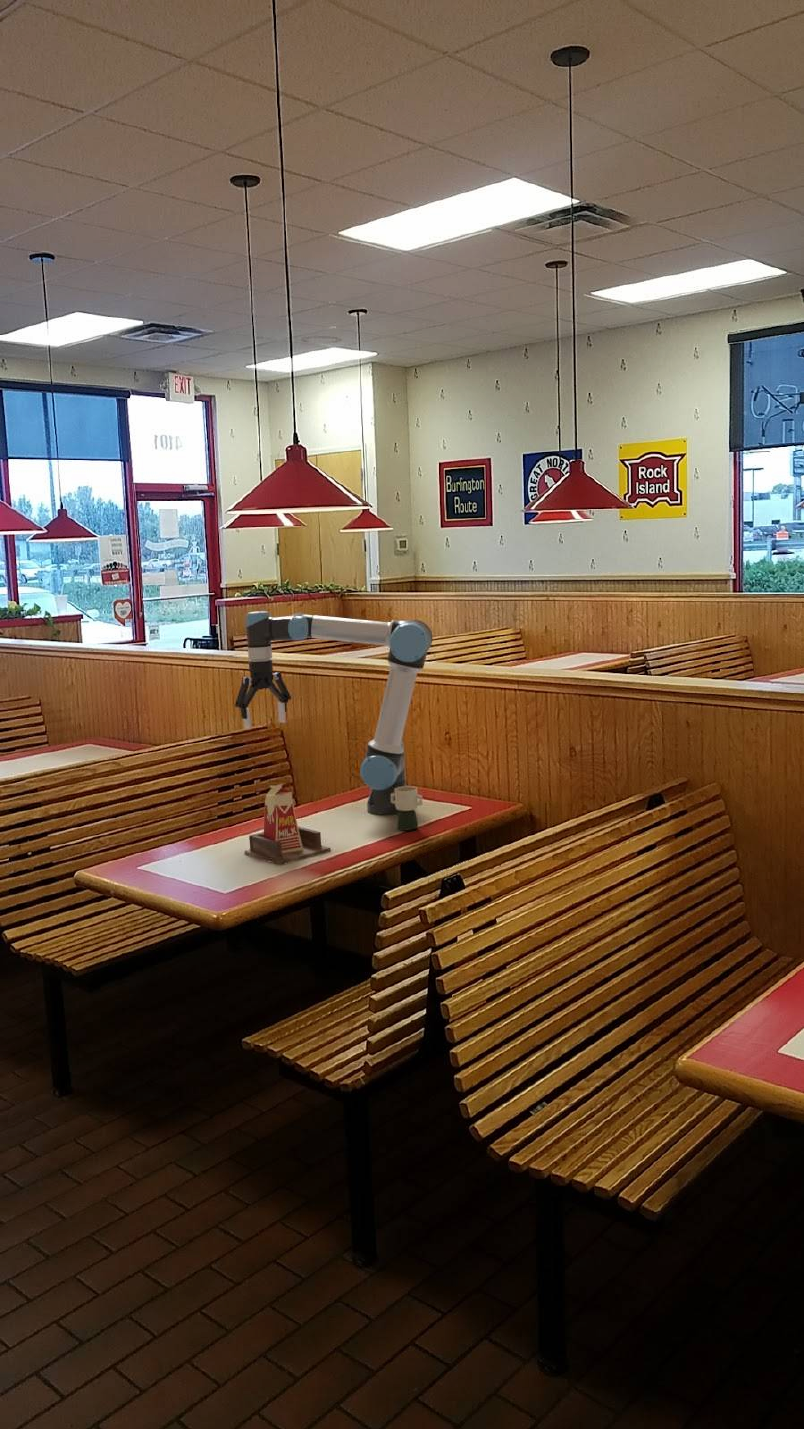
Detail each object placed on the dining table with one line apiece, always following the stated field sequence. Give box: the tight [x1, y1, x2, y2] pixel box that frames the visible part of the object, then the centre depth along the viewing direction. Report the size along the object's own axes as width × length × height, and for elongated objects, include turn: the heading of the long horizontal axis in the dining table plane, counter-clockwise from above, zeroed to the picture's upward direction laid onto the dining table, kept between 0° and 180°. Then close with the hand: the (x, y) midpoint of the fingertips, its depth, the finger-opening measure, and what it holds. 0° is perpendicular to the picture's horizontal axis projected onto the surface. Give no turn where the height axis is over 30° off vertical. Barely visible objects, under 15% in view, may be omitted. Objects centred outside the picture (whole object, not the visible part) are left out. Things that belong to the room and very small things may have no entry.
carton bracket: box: [243, 825, 332, 866], centre depth 322 cm, size 18×18×6 cm
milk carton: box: [263, 783, 303, 854], centre depth 321 cm, size 9×9×20 cm
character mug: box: [391, 785, 423, 831], centre depth 341 cm, size 11×7×13 cm, turn 62°
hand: (265, 725), depth 356 cm, fingers open, 13 cm apart
